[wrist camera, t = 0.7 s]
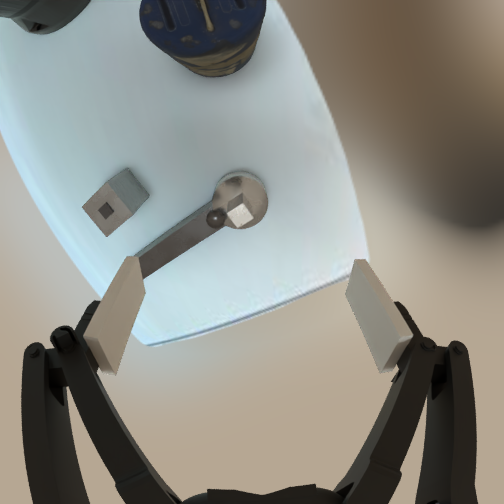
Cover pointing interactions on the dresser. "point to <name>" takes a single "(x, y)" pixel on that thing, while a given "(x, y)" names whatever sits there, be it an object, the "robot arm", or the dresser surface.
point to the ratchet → (209, 219)
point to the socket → (115, 202)
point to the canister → (204, 32)
